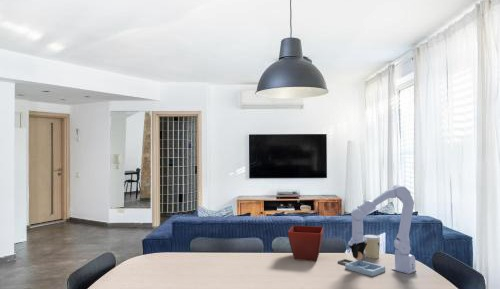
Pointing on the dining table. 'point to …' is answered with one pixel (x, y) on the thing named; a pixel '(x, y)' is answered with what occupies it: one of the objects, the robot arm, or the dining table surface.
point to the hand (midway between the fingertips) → (358, 256)
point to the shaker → (364, 257)
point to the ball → (359, 256)
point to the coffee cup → (372, 246)
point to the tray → (365, 268)
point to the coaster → (343, 261)
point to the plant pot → (305, 242)
